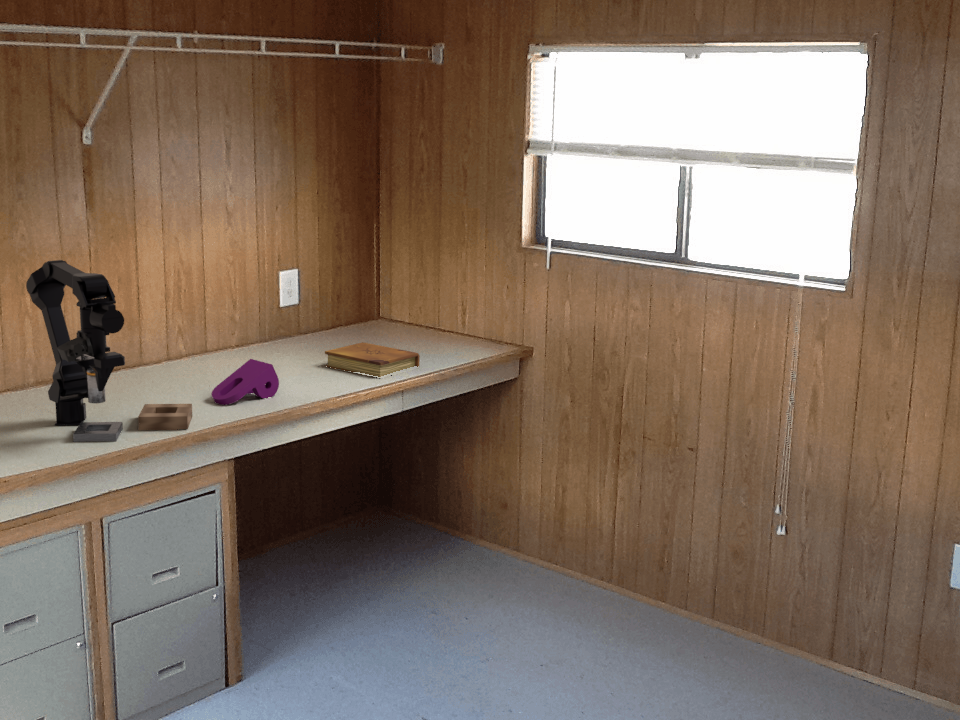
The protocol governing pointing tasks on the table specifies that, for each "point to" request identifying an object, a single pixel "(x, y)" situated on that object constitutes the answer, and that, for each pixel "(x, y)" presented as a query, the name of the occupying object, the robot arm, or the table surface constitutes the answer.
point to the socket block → (165, 416)
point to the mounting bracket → (247, 383)
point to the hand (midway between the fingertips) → (96, 389)
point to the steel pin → (94, 388)
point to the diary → (371, 359)
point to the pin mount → (97, 431)
